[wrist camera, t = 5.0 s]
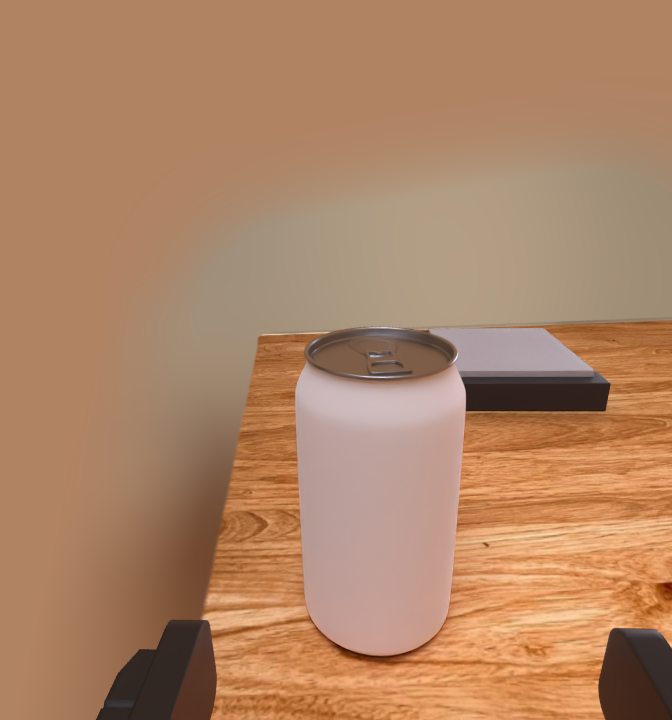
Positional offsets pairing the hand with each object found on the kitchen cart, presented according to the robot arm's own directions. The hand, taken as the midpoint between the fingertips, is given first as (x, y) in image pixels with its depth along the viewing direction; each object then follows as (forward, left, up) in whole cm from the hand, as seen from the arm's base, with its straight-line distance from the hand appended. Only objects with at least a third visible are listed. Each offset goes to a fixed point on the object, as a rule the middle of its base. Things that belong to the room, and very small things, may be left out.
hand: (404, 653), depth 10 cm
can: (-7, +7, -9) cm, 14 cm away
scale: (-17, +34, -9) cm, 39 cm away
